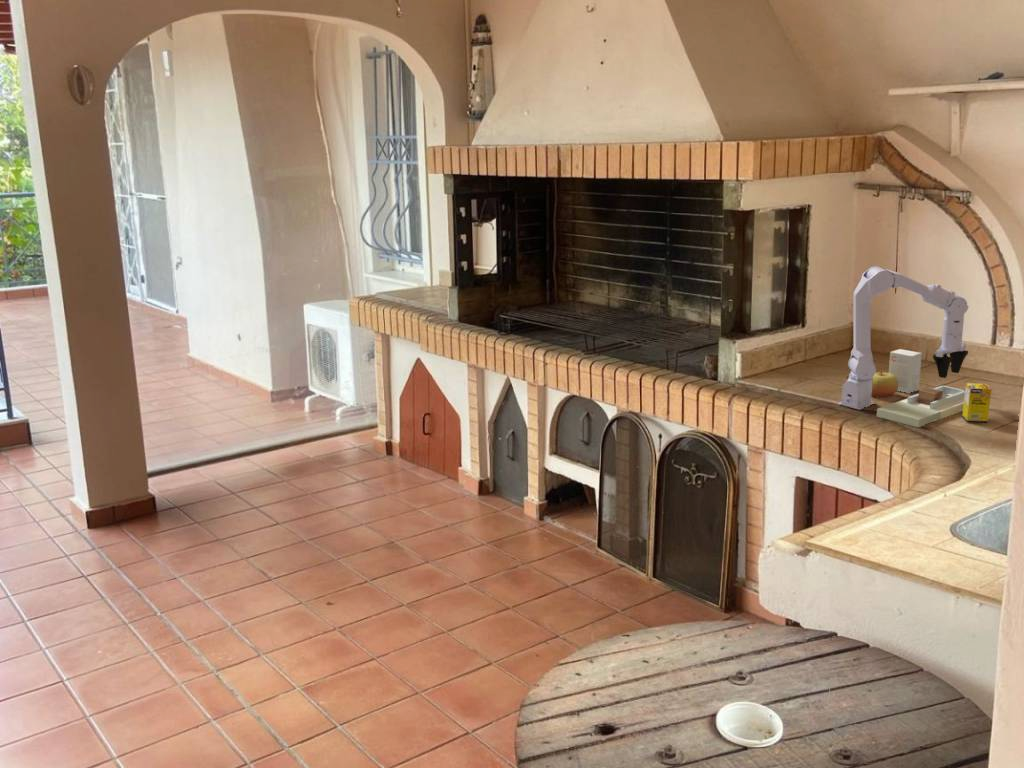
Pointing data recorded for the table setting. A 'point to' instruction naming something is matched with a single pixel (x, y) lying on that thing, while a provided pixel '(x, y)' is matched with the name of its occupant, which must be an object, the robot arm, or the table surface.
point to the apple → (884, 384)
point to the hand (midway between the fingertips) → (948, 374)
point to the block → (929, 395)
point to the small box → (906, 369)
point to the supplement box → (976, 403)
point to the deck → (924, 408)
